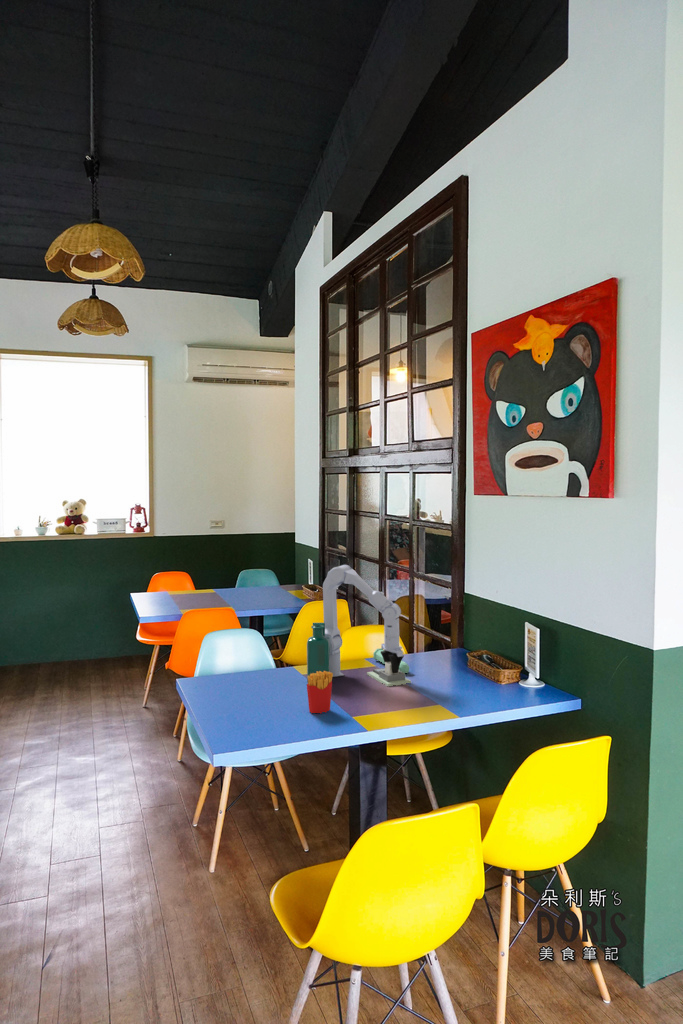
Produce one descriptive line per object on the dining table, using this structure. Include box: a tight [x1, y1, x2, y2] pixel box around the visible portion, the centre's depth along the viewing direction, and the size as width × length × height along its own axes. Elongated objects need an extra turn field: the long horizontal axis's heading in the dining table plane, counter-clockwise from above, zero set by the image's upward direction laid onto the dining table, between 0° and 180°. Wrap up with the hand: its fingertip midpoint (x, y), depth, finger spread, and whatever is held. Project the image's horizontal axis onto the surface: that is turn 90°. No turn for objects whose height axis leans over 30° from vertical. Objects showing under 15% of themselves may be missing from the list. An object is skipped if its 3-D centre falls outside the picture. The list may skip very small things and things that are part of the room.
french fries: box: [306, 671, 333, 714], centre depth 229 cm, size 9×4×13 cm, turn 122°
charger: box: [384, 662, 399, 675], centre depth 264 cm, size 4×4×6 cm
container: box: [372, 648, 410, 674], centre depth 284 cm, size 6×6×25 cm
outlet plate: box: [366, 667, 412, 687], centre depth 267 cm, size 10×18×3 cm, turn 23°
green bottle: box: [306, 622, 330, 684], centre depth 264 cm, size 10×8×22 cm
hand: (392, 671), depth 264 cm, fingers open, 5 cm apart
